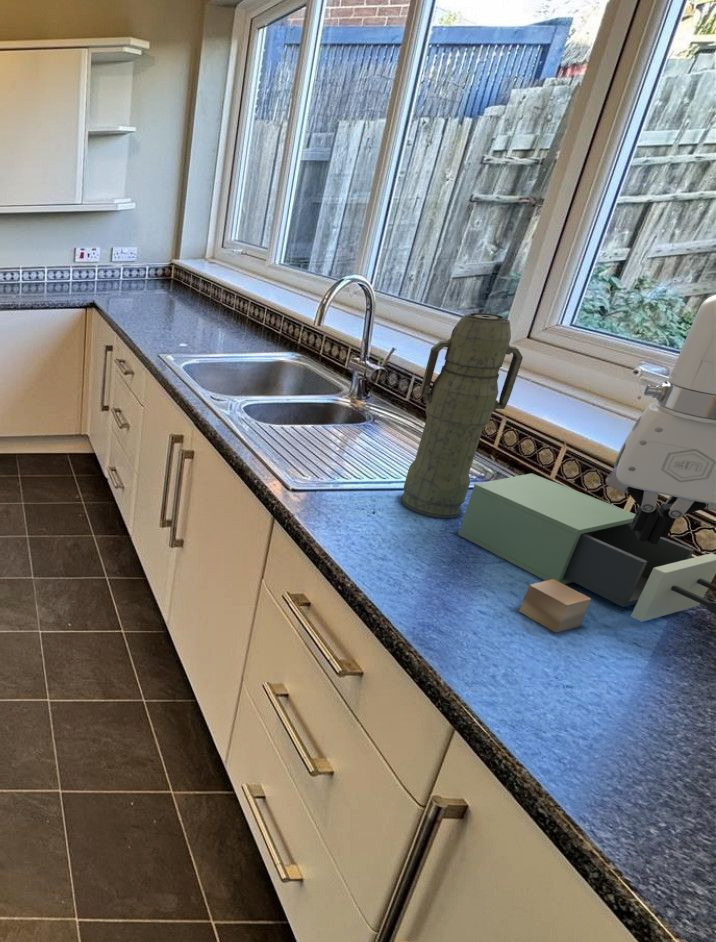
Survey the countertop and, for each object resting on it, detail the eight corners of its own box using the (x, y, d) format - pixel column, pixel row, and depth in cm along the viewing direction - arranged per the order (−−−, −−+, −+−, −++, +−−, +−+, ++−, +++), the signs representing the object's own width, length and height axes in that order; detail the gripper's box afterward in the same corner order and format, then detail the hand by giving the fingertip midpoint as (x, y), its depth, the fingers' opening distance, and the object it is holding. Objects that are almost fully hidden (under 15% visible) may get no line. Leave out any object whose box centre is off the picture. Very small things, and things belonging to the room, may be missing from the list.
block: (579, 626, 82) (591, 598, 81) (555, 632, 81) (567, 605, 79) (542, 605, 86) (553, 578, 85) (518, 611, 85) (529, 584, 83)
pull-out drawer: (749, 629, 80) (777, 579, 77) (690, 647, 77) (717, 596, 74) (584, 552, 96) (602, 508, 93) (530, 564, 94) (547, 520, 91)
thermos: (385, 489, 118) (434, 308, 105) (460, 500, 114) (520, 312, 101) (396, 511, 110) (450, 319, 97) (476, 524, 106) (543, 324, 93)
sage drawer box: (616, 571, 93) (641, 516, 90) (556, 586, 90) (579, 530, 86) (513, 522, 106) (531, 473, 103) (457, 534, 103) (474, 483, 100)
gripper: (622, 398, 73) (567, 531, 80) (823, 427, 64) (742, 574, 71) (614, 382, 78) (563, 508, 85) (798, 407, 69) (725, 545, 76)
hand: (645, 537), depth 78 cm, fingers closed
